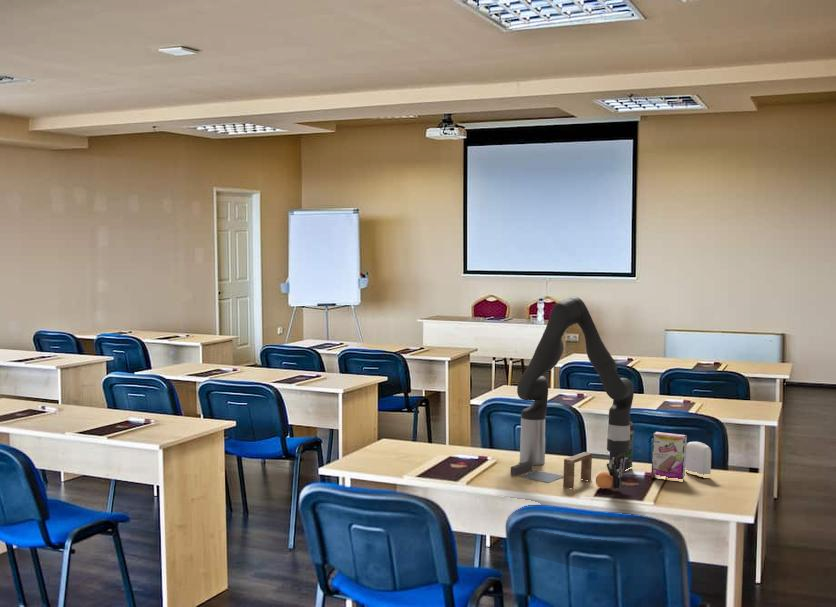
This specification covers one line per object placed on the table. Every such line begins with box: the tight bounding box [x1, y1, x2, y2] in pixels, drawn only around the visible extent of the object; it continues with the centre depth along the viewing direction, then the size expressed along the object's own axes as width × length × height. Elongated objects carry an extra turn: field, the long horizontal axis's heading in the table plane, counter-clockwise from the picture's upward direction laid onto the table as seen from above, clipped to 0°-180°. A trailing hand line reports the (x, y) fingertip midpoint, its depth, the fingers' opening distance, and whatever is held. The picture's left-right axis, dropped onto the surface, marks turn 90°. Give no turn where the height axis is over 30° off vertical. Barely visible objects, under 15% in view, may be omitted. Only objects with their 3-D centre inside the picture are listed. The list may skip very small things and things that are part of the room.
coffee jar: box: [609, 420, 635, 469], centre depth 321 cm, size 10×8×19 cm
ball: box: [595, 471, 613, 489], centre depth 293 cm, size 6×6×6 cm
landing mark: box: [518, 470, 564, 484], centre depth 308 cm, size 12×12×1 cm
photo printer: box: [685, 441, 712, 475], centre depth 315 cm, size 10×4×12 cm, turn 26°
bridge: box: [562, 451, 593, 489], centre depth 299 cm, size 3×15×10 cm, turn 142°
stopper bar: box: [509, 461, 533, 477], centre depth 313 cm, size 12×2×3 cm, turn 142°
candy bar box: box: [651, 431, 688, 479], centre depth 308 cm, size 11×5×16 cm, turn 65°
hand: (616, 487), depth 291 cm, fingers closed
